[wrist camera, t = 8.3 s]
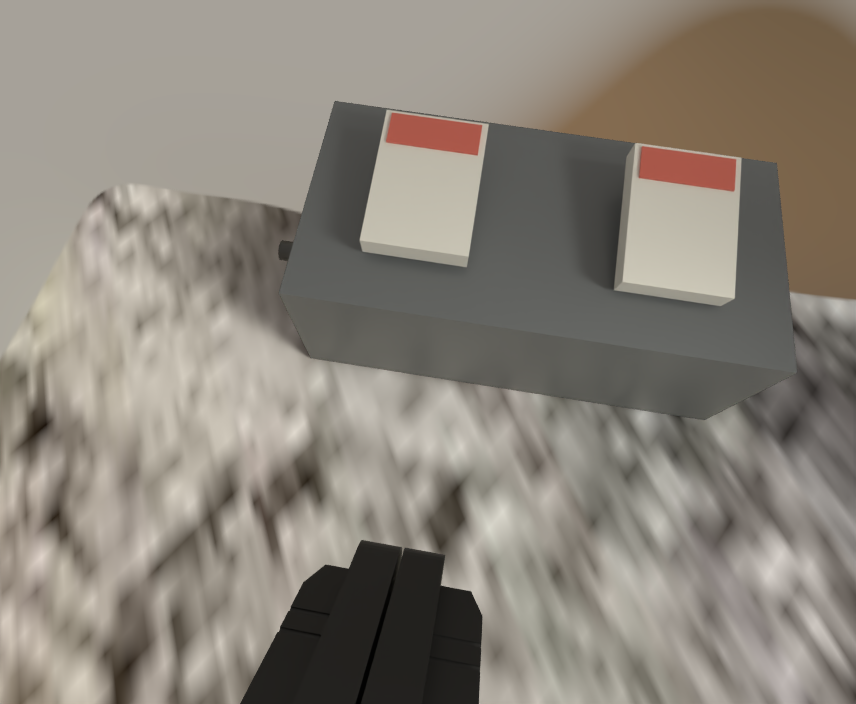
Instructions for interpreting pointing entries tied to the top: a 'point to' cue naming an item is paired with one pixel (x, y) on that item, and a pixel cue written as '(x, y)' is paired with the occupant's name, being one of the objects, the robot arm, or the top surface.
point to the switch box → (535, 282)
